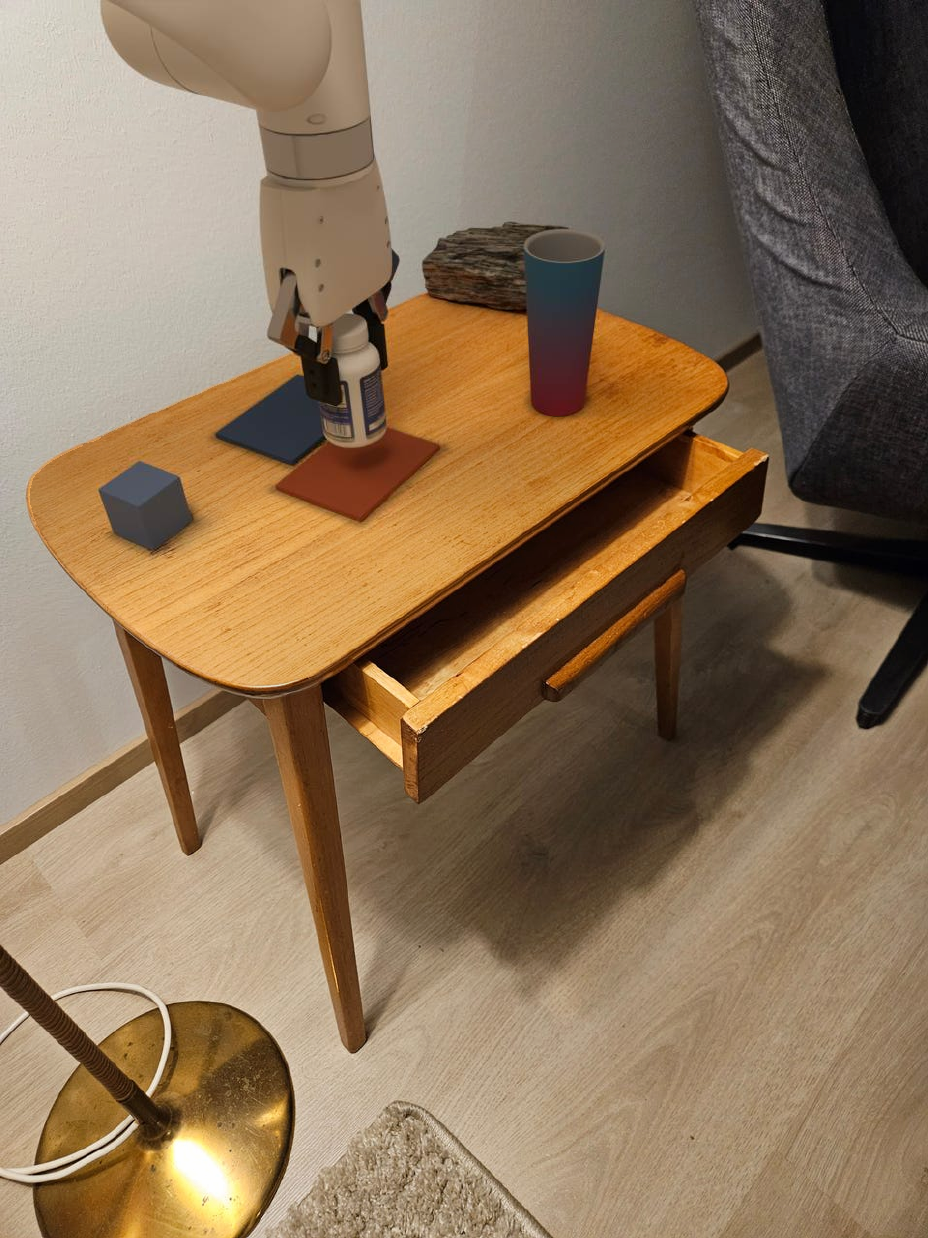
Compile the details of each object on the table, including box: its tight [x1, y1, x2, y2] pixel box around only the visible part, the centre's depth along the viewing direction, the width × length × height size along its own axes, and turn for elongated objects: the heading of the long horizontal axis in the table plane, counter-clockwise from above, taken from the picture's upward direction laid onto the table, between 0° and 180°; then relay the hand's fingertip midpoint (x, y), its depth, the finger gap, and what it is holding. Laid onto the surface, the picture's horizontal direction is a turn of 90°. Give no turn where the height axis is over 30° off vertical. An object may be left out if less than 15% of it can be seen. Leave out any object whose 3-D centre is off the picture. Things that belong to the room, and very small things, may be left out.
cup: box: [524, 228, 606, 417], centre depth 86 cm, size 7×7×15 cm
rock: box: [421, 221, 570, 311], centre depth 105 cm, size 12×16×6 cm
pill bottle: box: [315, 312, 387, 448], centre depth 78 cm, size 5×5×10 cm
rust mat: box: [274, 426, 441, 523], centre depth 84 cm, size 12×9×1 cm
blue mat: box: [214, 374, 327, 466], centre depth 90 cm, size 12×9×1 cm
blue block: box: [97, 460, 193, 552], centre depth 77 cm, size 4×4×4 cm
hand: (348, 380), depth 78 cm, fingers closed on pill bottle, 5 cm apart
